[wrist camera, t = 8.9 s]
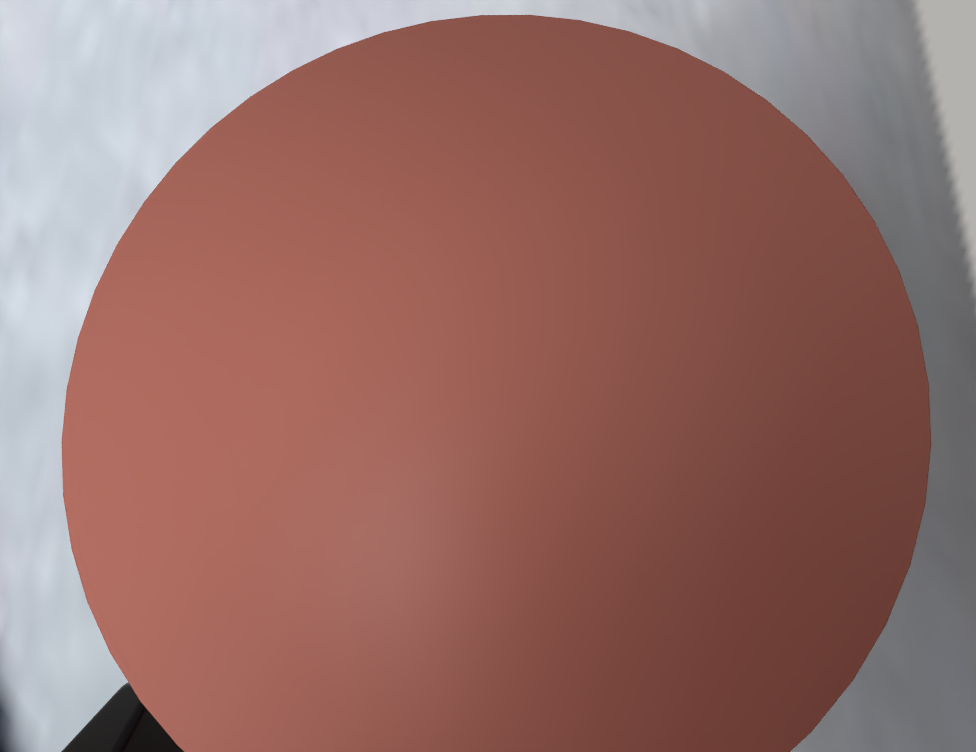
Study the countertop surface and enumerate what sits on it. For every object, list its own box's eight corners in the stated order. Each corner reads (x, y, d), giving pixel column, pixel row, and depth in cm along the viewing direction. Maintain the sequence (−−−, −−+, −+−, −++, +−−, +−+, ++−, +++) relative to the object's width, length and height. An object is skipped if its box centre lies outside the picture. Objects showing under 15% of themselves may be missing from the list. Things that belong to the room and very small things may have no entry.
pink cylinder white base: (606, 696, 15) (669, 1214, 3) (429, 582, 16) (-159, 553, 4) (707, 511, 16) (1155, 201, 3) (531, 411, 17) (343, -131, 4)
